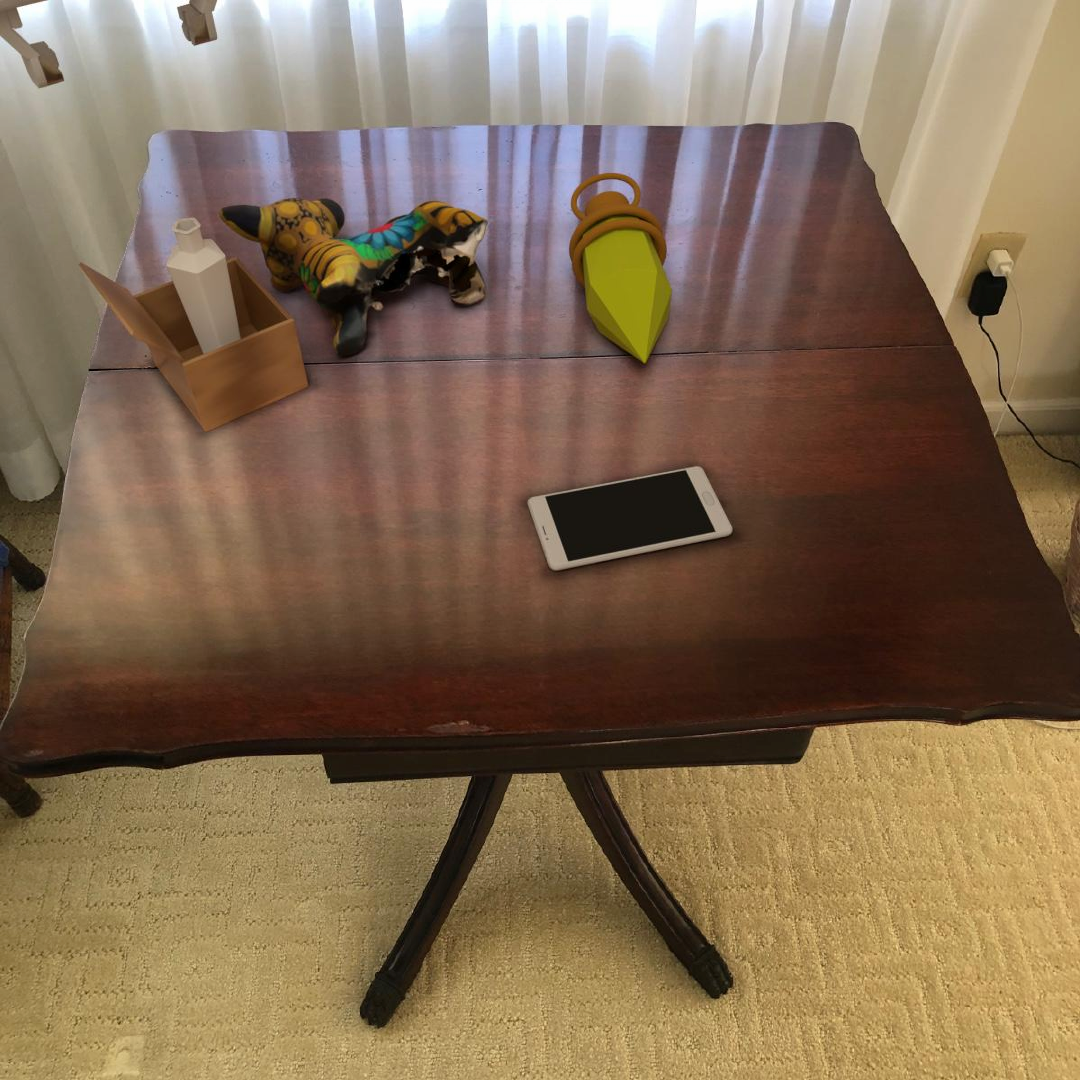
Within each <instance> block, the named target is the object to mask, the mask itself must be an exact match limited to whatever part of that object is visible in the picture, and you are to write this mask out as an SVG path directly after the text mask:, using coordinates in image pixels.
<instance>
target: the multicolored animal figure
mask: <svg viewBox="0 0 1080 1080" xmlns="http://www.w3.org/2000/svg"><path fill="white" fill-rule="evenodd" d="M218 215H219V218H220V220H221V221H222V222H223V223H224V224H225V225H226V226H227V227H228V228H229V229H230V230H231V231H233V232H234V233H236V234H237V235H239V237H242V238H244V239H245V240H248V241H252V242H255V243H258V244H260V247H261V251H262V255H263V258H264V263H265V265H266V268H267V269H268V270H269V272H270V284H271V287H272V288H273V289H275V290H278V291H281V292H290V291H292V290H294V289H295V288H297V287H301V285H304V289H305V290H306V292H307V294H308V295H309V297H310V298H311V299H312V300H313V301H314V302H316V303H318V305H320V307H321V308H322V310H324V312H325V313H326V315H327V316H328V317H329V319H330V321H331V323H332V325H333V326H334V328H335V330H336V333H335V335H334V337H333V349H334V351H335V353H336V355H337V356H339V357H348V356H352V355H354V354H357V353H358V352H360V351H361V350H362V349H363V348H364V346H366V345H365V344H366V342H367V337H368V313H369V309H371V308H373V309H374V310H375V311H382V309H383V308H384V305H383V304H382V302H381V301H374V299H378V298H382V297H384V296H387V295H390V294H391V293H393V292H402V291H403V290H404V289H405V287H406V285H408V286H409V285H410V284H411V280H412V279H413V277H415V276H423V277H425V278H426V279H427V280H429V281H430V282H434V283H436V284H441V285H443V286H445V287H448V289H449V290H448V291H449V294H448V295H449V297H450V301H451V303H452V304H453V305H456V306H460V307H467V306H470V305H473V304H474V305H475V304H476V303H478V302H479V301H481V300H483V299H484V298H485V297H486V293H487V292H486V291H487V290H486V289H487V287H486V282H485V279H484V277H483V276H484V275H483V274H482V272H481V270H480V268H479V266H478V264H477V263H476V261H475V258H476V257H475V256H476V253H477V249H478V246H479V245H480V243H481V242H482V241H483V239H484V237H485V235H486V230H487V227H488V219H486V218H484V217H482V216H480V215H478V214H476V213H475V212H473V211H471V210H467V209H465V208H459V207H454V206H453V205H450V204H448V203H446V202H444V201H441V200H435V199H434V200H433V199H432V200H427V201H424V202H421V203H419V204H418V205H416V206H415V207H414V209H412V210H411V211H410V212H409V213H406V214H403V215H398V216H395V217H393V218H391V219H390V220H388V221H387V222H386V223H384V224H383V225H380V226H378V227H376V228H373V229H370V230H367V231H366V232H363V233H360V234H357V235H354V236H349V237H346V238H336V237H337V236H338V235H339V233H340V232H341V231H342V229H343V227H344V225H345V221H346V215H345V212H344V210H343V208H342V206H341V205H340V204H339V203H338V202H336V201H335V200H333V199H331V198H319V199H316V200H312V201H310V200H308V199H305V198H300V197H289V198H288V197H287V198H282V199H279V200H276V201H274V202H273V203H271V204H269V205H266V206H258V205H250V204H236V205H228V206H224V207H222V208H220V210H219V212H218Z"/></svg>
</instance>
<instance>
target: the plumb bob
mask: <svg viewBox="0 0 1080 1080" xmlns="http://www.w3.org/2000/svg"><path fill="white" fill-rule="evenodd" d="M607 180H608V181H609V180H614V181H615V180H616V181H621V182H624V183H626V184H628V185H629V186H630V187H631V188H632V190H633V194H634V196H633V200H632V202H631V203H630V201H629V199H628V198H627V196H626V195H625V194H623V193H622V192H620V191H615V190H607V191H601V192H600V193H597V194H596V195H594V196H592V198H590V199H589V201H588V202H587V204H586V206H585V208H584V213H583V212H581V210H580V209H579V206H578V199H579V197H580V195H581V194H582V193H583V191H584V190H586V188H587V187H589V186H591V185H594V184H596V183H599V182H601V181H607ZM641 198H642V191H641V189H640V186H639V184H638V182H637V181H636V180H635V179H633V178H632V177H631V176H629V175H627V174H623V173H618V172H604V173H600V174H599V173H598V174H596V175H594V176H591V177H589V178H586V180H584V181H582V183H580V184H579V185H578V186H577V187H576V188H575V190H574V191H573V192H572V194H571V198H570V208H571V211H572V213H573V215H575V217H576V218H577V219H578V220H579V221H580V222H579V224H578V225H577V226H576V228H575V229H574V230H573V232H572V235H571V237H570V240H569V245H568V254H569V255H568V256H569V258H570V261H571V269H572V273H573V275H574V277H575V278H576V280H577V281H578V282H579V284H580V285H581V286H582V287H584V291H585V302H586V303H585V304H586V310H587V312H588V314H589V316H590V317H591V320H592V322H593V324H594V325H595V327H596V329H597V331H598V333H599V334H601V335H602V336H604V337H605V338H607V339H608V340H610V341H611V342H613V343H614V344H615V345H617V346H618V347H620V348H621V349H623V350H624V351H626V352H627V353H629V354H630V355H632V356H633V357H635V358H636V359H638V361H640V362H642V364H646V363H647V361H648V359H649V357H650V355H651V353H652V351H653V349H654V347H655V345H656V343H657V341H658V339H659V337H660V335H661V334H662V331H663V329H664V327H665V326H666V323H667V322H668V319H669V316H670V310H671V302H672V294H673V288H672V286H671V283H670V281H669V278H668V276H667V273H666V271H665V268H664V264H665V262H666V259H667V254H668V247H667V241H666V238H665V237H664V232H663V228H662V225H661V223H660V221H659V220H658V218H657V217H656V216H655V215H654V214H653V213H651V212H650V211H649V210H647V209H645V208H643V207H641V206H639V204H640V202H641Z"/></svg>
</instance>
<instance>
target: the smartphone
mask: <svg viewBox="0 0 1080 1080" xmlns="http://www.w3.org/2000/svg"><path fill="white" fill-rule="evenodd" d="M527 506H528V509H529V513H530V515H531V518H532V522H533V524H534V528H535V530H536V533H537V535H538V538H539V542H540V544H541V547H542V548H541V549H542V550H543V553H544V556H545V559H546V560H547V561H546V562H547V565H548V567H549V568H550V569H551V570H552V571H562V570H568V569H572V568H578V567H581V566H583V567H584V566H588V565H592V564H596V563H602V562H607V561H612V560H617V559H621V558H622V559H623V558H627V557H632V556H637V555H642V554H648V553H651V552H657V551H661V550H666V549H672V548H676V547H681V546H685V545H686V546H687V545H692V544H697V543H700V542H707V541H711V540H715V539H721V538H726V537H729V536H730V535H731V534H732V533H733V526H732V524H731V522H730V520H729V518H728V516H727V514H726V513H725V510H724V507H723V506H722V504H721V502H720V500H719V498H718V496H717V494H716V492H715V491H714V488H713V486H712V484H711V482H710V480H709V478H708V476H707V474H706V472H705V470H704V469H703V468H702V467H701V466H698V465H696V466H691V467H684V468H679V469H675V470H669V471H664V472H659V473H658V472H657V473H653V474H647V475H642V476H637V477H631V478H627V479H620V480H616V481H610V482H605V483H600V484H595V485H589V486H584V487H583V486H582V487H578V488H574V489H569V490H568V489H567V490H563V491H557V492H552V493H547V494H542V495H541V494H540V495H537V496H531V497H530V498H528V500H527Z"/></svg>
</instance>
